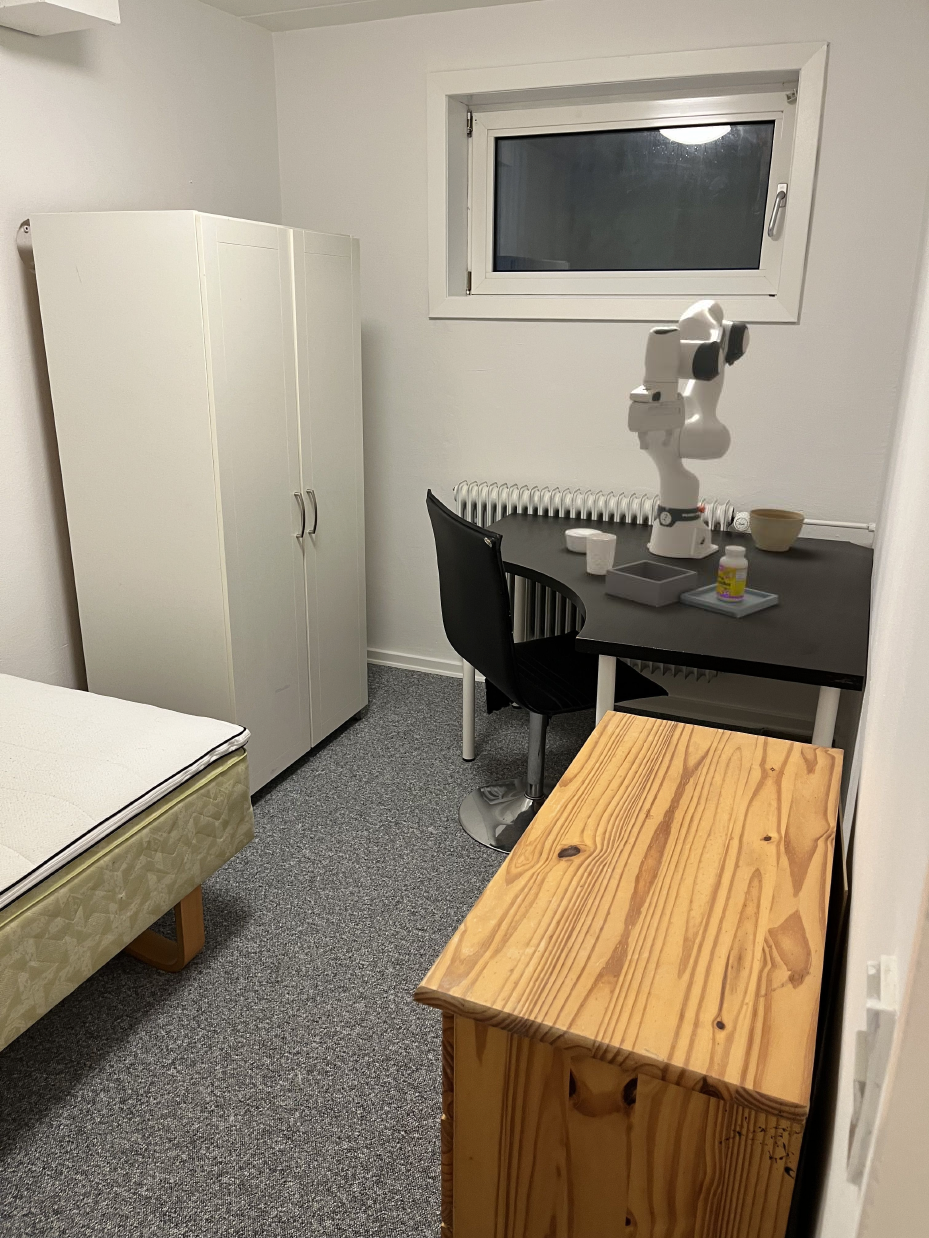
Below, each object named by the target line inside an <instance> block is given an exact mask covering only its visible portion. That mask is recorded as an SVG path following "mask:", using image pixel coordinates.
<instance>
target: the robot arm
mask: <svg viewBox="0 0 929 1238" xmlns="http://www.w3.org/2000/svg"><path fill="white" fill-rule="evenodd" d="M724 315H725V314H724V310H723V308H722V306H721V305H720V304H719V303H718V302H717V301H715V300H711V299H706V300H701V301H699V302H696V303H695V304H693V305H691V306H690V307H689V308H688V309H687V310H686V311H685V312H684V313H683V314H682V316H680V318H679V321H678V322H677V325H676V326H672V325H667V326H666V325H661V326H657V327H653V328H652V329H650V331H649V334H648V337H647V342H646V347H645V356H644V368H645V372H644V376H643V379H642V385H640V386H639V387H638V388H636V389H634V390H633V391H631V392H629V401H630V402H631V403H630V405H629V407H628V413H627V414H628V417H627V428H628V430H629V432H631V433H637V437H638V440H639V449H640V450H643V451H644V453H646V454H647V455H648V456H649V457H650V458H651V459H652V461H653V462H654V464H655V466H656V469H657V471H658V476H659V502H658V504H657V508H656V520H654V521H653V526H652V531H651V536H650V542H648V543H647V544H646V547H647V549H649V552H650V553H652V554H655V555H657V556H661V557H667V558H681V559H683V558H685V559H687V558H688V559H689V558H690V559H691V558H692V559H702V558H705V557H707V556H709V555H710V554H712V553H715V552H717V551H719V546H718V545H716V544H714V543H713V544H712V530H711V529H710V528H709V527H708V526H707V525H706V524H705V523H704V522H703V520H702V519H701V514H705V512H706V509H707V508H706V507H705V506H704V505H703V506H701V505H699V495H700V485H701V483H700V480H699V477H698V476H697V475H696V474H694V473H693V472H692V471H690V470H689V469H688V468H686V467H685V466H684V464H683V459H687V460H688V459H689V460H696V461H697V460H700V461H707V460H709V461H711V460H719V459H722V458H723V457H724V456H725V455H726V454H727V452H728V450H729V449H730V446H731V434H730V431H729V429H728V427H727V426H726V424H724V423H722V422H721V421H720V420H719V418H718V416H717V413H716V412H717V408H718V404H719V400H720V397H721V393H722V390H723V388H724V380H725V367H726V365H727V364H728V367H731V366H733V365H734V364H735V362H736V361H738V360H740V359H741V358H742V357H743V356H744V354H746V353H747V352H746V351H747V349H748V347H749V345H750V340H751V339H750V338H751V337H750V332H749V327H748V326H747V324H746V323H744V322H742V321H737V320H734V321H730V320H724V317H725V316H724ZM680 380H685V381H684V384H683V386H682V389H681V392H680V391H679V381H680Z"/></svg>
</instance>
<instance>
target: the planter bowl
mask: <svg viewBox="0 0 929 1238" xmlns="http://www.w3.org/2000/svg"><path fill="white" fill-rule="evenodd" d="M748 515H749V520H748V521H749V522H748V523H749V530H750V534H751V536H752V538H753V540H754V542H755V546H756V548H758V549H760V550H765V551H767V552H786V551H789V549H790V546H791V545H792V544H793V543H794V542H795V541H796V539H798V537H799V535H800V534H801V531H802V528H803V525H804V521H805V519H806V516H805V515H804V514H802V513H800V512H797V511H791V510H786V509H777V508H755V509H750V510H749V512H748Z"/></svg>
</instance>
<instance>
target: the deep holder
mask: <svg viewBox="0 0 929 1238" xmlns="http://www.w3.org/2000/svg"><path fill="white" fill-rule="evenodd" d="M697 579H698V572H697V571H693V570H689V569H685V568H681V567H676V566H672V565H668V564H663V563H660V562H655V561H651V560H647V559H643V560H640V561H636V562H632V563H627V564H624V565H619V566H616V567H612V568H611V569H608V570H606V575H605V584H604V585H605V587H604V594H608V595H612V596H615V597H619V598H622V599H625V598H626V599H627V600H629V601H632V600H634V601H633V602H636V601H637V603H640V604H643V603H644V604H643V605H647V604H648V605H647V606H650V605H652V606H651V607H654V606H655V608H660V607H663V606H665V605H667V606H668V605H669V604H673V603H675V602H676V603H677V602H680V598H681V594H684V593H687V592H690V591H693V590H697V582H698V581H697ZM626 599H625V600H626Z"/></svg>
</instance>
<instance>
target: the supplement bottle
mask: <svg viewBox="0 0 929 1238" xmlns="http://www.w3.org/2000/svg"><path fill="white" fill-rule="evenodd" d="M724 553H725V555H723V556H722V557H721V558H720V560H719V565H718V566H719V567H718V574H717V581H716V583H717V589H716V597H717V598H718V599H720V600H722V601H726V602H739V601H742V600H743V598H744V592H745V588H746V582H747V575H748V573H747V572H748V569H749V568H748V565H749V563H748V560H747V559H746V558H745V554H746V547H744V546H740V545H739V546H738V545H726V546H725V549H724Z"/></svg>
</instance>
